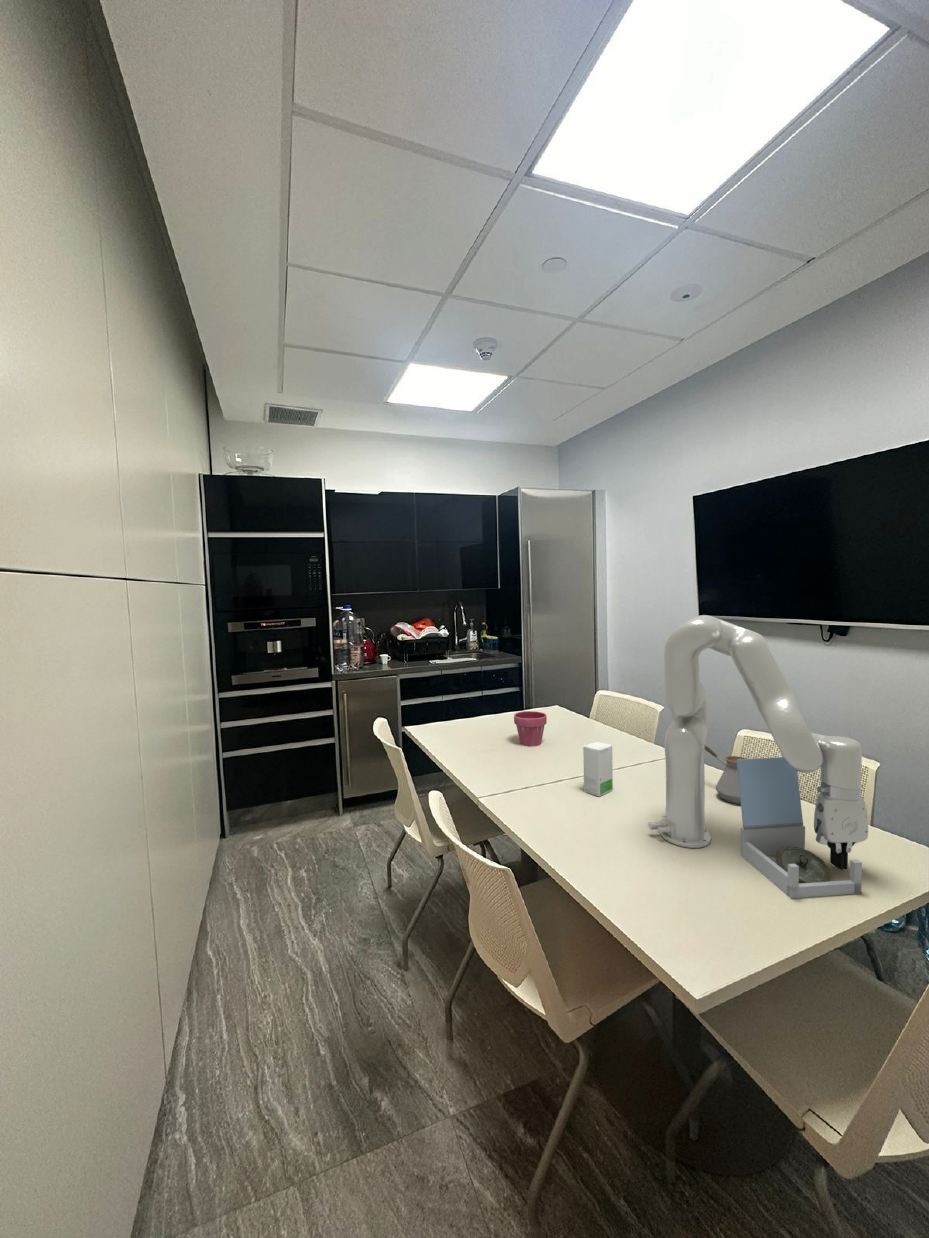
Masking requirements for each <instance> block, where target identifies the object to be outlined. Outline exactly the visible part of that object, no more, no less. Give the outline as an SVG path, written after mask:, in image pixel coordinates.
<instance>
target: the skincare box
mask: <svg viewBox="0 0 929 1238" xmlns="http://www.w3.org/2000/svg"><path fill="white" fill-rule="evenodd" d="M582 748H583V749H582V751H583V792H584V793H587V794H590V795H592V796H595V797H599V798H600V797H602V796H605V795H606V794H609V793H610V792H613V791H614V784H613V783H614V776H613V775H614V773H613V772H614V771H613V766H614V765H613V764H614V763H613V744H610V743H605V742H600V741H595V742H590V743H588V744H585V745H583V746H582Z"/></svg>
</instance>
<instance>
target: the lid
mask: <svg viewBox="0 0 929 1238" xmlns="http://www.w3.org/2000/svg"><path fill="white" fill-rule="evenodd" d="M775 861H776V864H777V865H778V866H780V867H781V868H782V869H783V870H785V871H786V872H787V873H788V864H796V865H797V866H799V884H801V883H815V882H828V880H829V879H830V874H831V873H830V869H829V866H828V865H827V864H826V862H825V861H824V860H823V859H822V858H821V857H819V856H818V855H816V854H815V853H813V852H812V851H809V850H807V849H806V848H805V849H802V848H799V847H794V846H791V847H789V846H787V847H783V848H781V849H780V850H778V851H777V852H776V855H775Z"/></svg>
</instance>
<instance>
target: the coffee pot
mask: <svg viewBox="0 0 929 1238" xmlns="http://www.w3.org/2000/svg"><path fill="white" fill-rule="evenodd" d="M704 751H706V752H708V753H709V754H710V755H712V756H713V757H714V758H716V759H717V760H718V761H720V762H721V763H722V764H723V765H724V766H725V768H724V770H723V772H722V774H721V776H720V777H719V779H718V781H717V783H716V785H715V790H716V792H717V793H718V795H719V796H720V797H721V798H722V799H723V800H724V801H727V802H728V803H732V804H735V805H741V801H740V791H739V781H738V771H737V759H747V758H745V757H744V756H743V757H742V756H736V755H728V756H725V757H724V760H723V758H721V757H720V756H718V755H717V753H715V751H713V749H711V748H710V747H709V746H707V745H705V748H704Z"/></svg>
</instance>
